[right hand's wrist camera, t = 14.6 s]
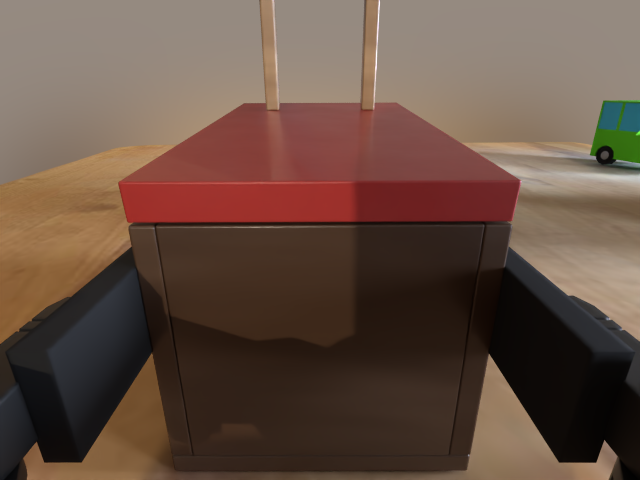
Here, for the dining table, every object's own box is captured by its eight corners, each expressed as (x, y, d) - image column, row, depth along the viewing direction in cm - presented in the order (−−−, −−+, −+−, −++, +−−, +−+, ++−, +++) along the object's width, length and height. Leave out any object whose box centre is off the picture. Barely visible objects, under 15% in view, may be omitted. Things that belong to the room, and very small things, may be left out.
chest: (253, 266, 28) (244, 144, 25) (388, 265, 28) (396, 143, 25) (174, 471, 13) (126, 226, 10) (467, 471, 13) (513, 224, 10)
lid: (244, 120, 25) (231, -40, 21) (395, 120, 25) (408, -41, 21) (126, 223, 10) (6, -278, 6) (513, 222, 10) (629, -283, 6)
